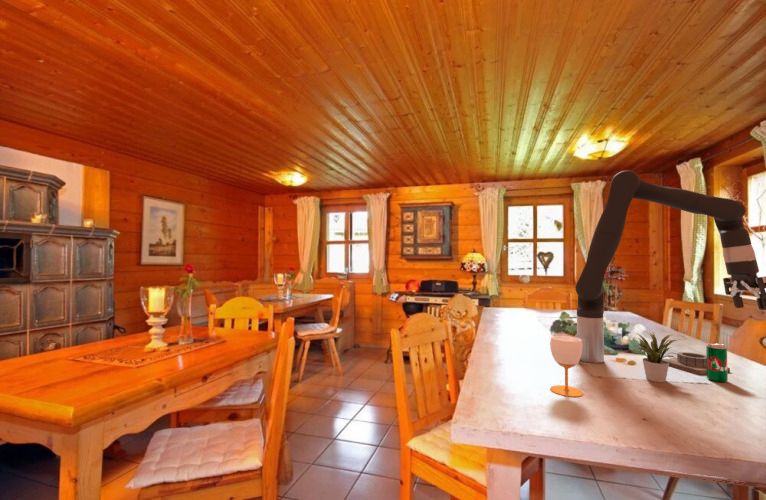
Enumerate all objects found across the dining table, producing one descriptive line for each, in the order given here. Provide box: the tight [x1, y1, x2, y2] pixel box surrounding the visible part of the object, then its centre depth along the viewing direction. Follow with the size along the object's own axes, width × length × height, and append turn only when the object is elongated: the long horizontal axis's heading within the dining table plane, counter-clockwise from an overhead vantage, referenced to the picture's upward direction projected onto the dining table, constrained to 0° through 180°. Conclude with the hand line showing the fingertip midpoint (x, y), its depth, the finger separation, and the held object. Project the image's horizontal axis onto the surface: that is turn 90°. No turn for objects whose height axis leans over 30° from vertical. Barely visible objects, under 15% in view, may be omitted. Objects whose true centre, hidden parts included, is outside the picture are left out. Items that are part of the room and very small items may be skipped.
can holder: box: [662, 351, 731, 376], centre depth 133 cm, size 14×14×4 cm
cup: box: [549, 335, 584, 398], centre depth 109 cm, size 9×9×16 cm
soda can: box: [705, 342, 729, 384], centre depth 119 cm, size 5×5×12 cm
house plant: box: [634, 330, 686, 383], centre depth 119 cm, size 14×14×16 cm
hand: (751, 308), depth 117 cm, fingers open, 8 cm apart
